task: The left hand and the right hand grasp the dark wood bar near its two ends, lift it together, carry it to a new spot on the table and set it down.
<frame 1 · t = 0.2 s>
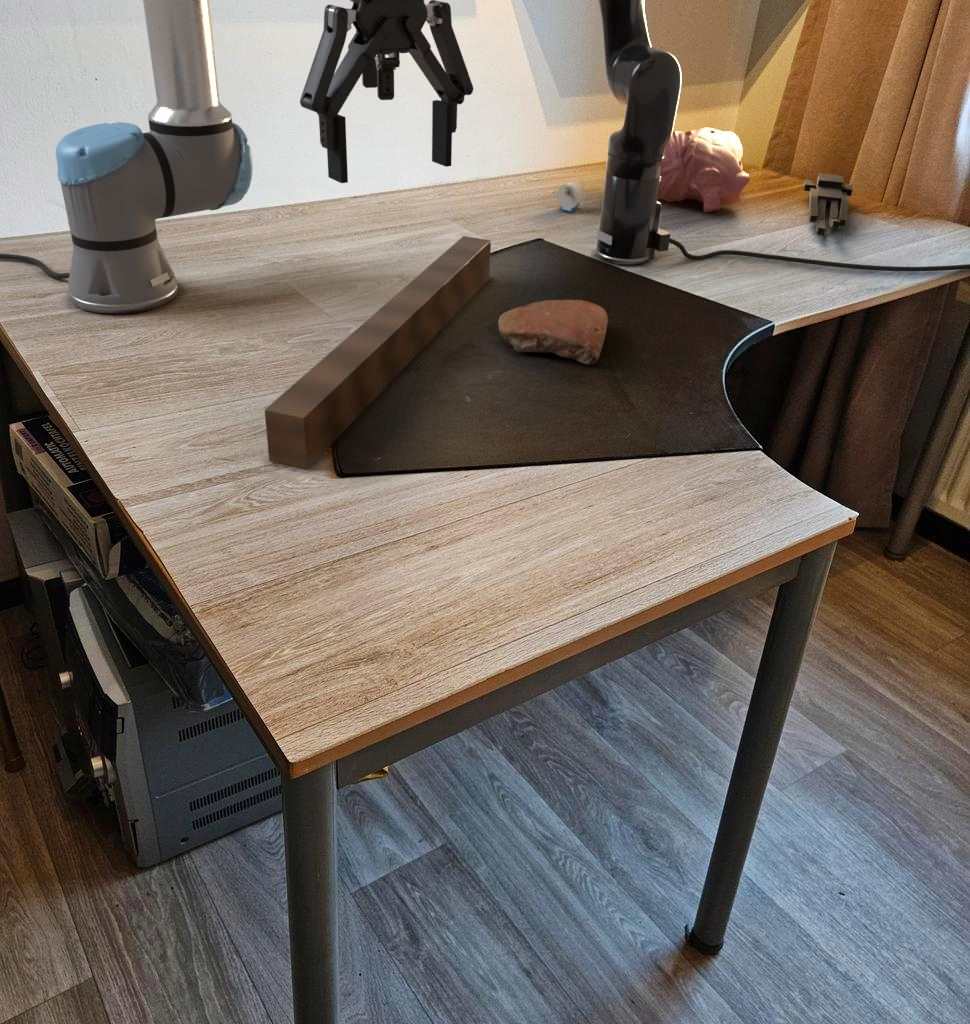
left hand: (391, 171, 106), 27 cm above the table, tool pointing down, fingers open, 13 cm apart
right hand: (378, 93, 136), 28 cm above the table, tool pointing down, fingers open, 8 cm apart
bar: (399, 352, 131), on the table
ceramic shard: (551, 340, 137), on the table
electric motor: (567, 211, 188), on the table
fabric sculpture: (687, 190, 204), on the table
toy: (825, 218, 192), on the table
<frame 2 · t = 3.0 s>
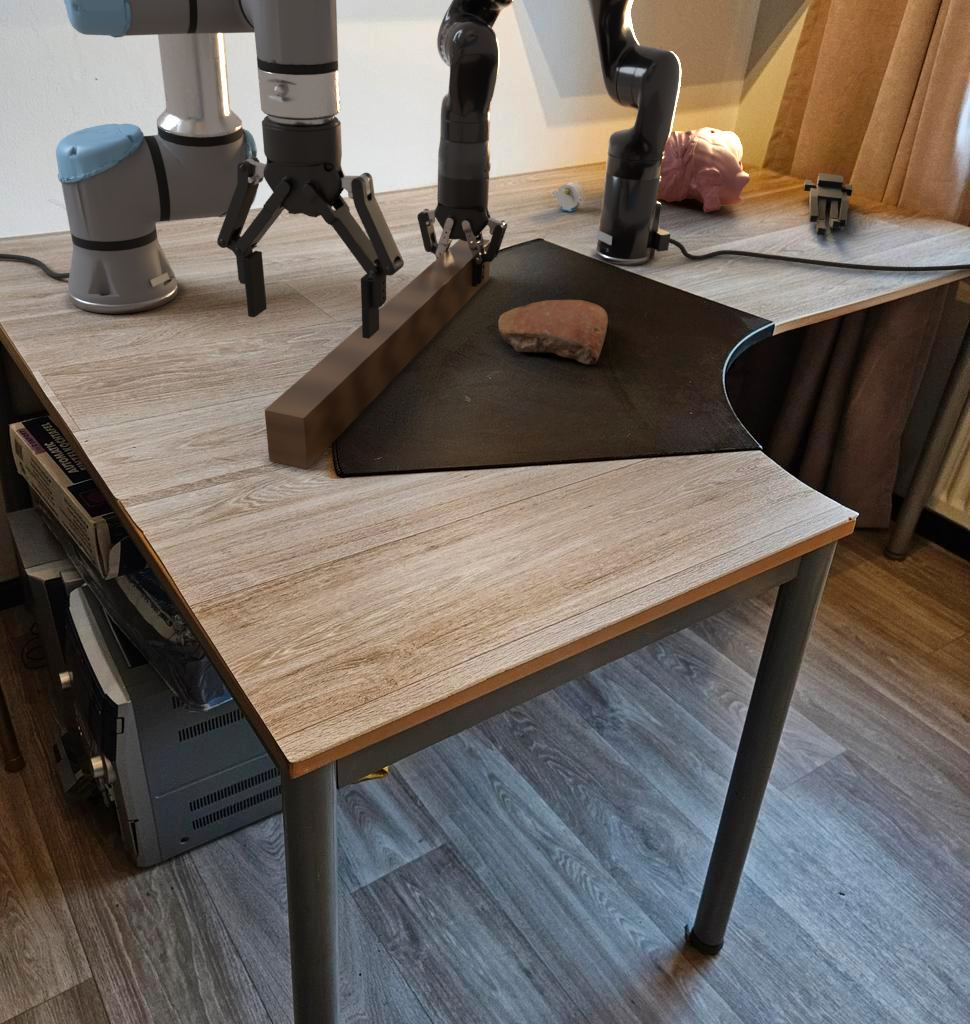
left hand: (313, 323, 104), 14 cm above the table, tool pointing down, fingers open, 13 cm apart
right hand: (460, 282, 149), 2 cm above the table, tool pointing down, fingers closed on bar, 4 cm apart
bar: (399, 352, 131), on the table, touching right hand
everything else where it was.
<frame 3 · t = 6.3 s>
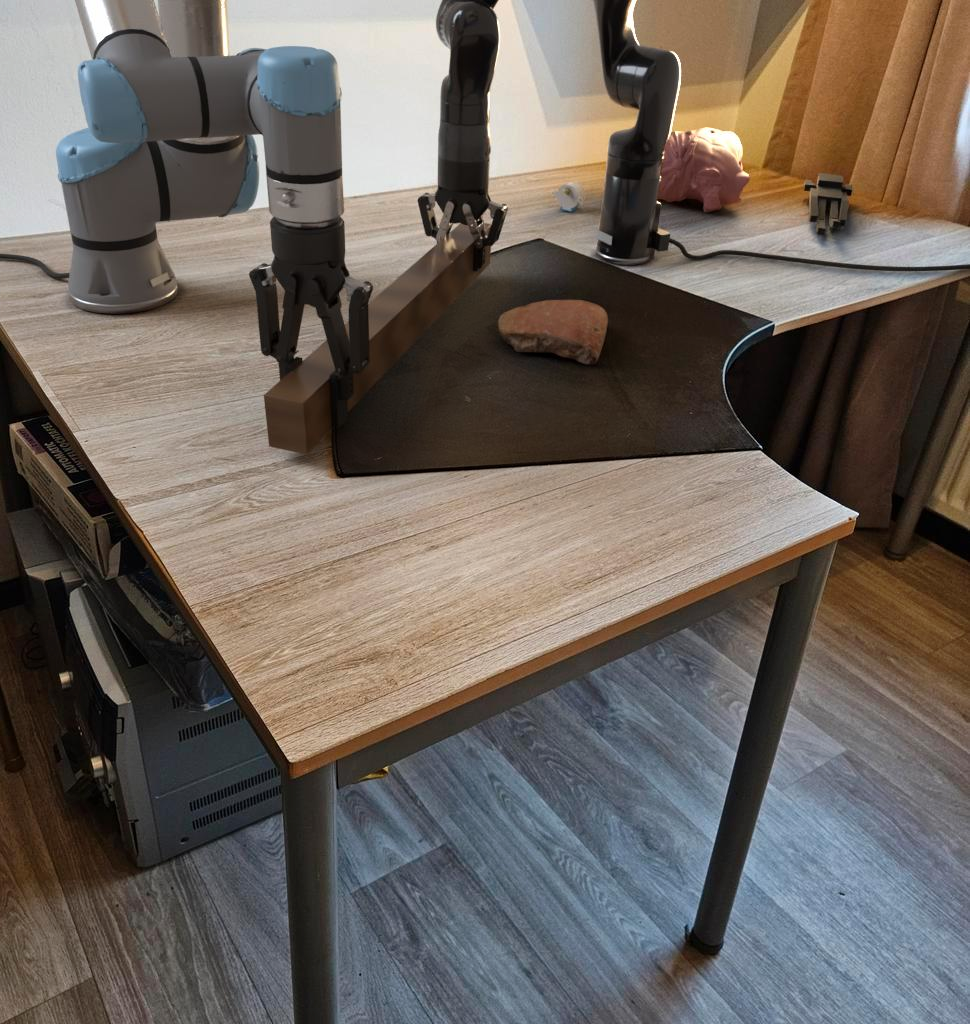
left hand: (318, 417, 111), 2 cm above the table, tool pointing down, fingers closed on bar, 5 cm apart
right hand: (461, 266, 148), 4 cm above the table, tool pointing down, fingers closed on bar, 4 cm apart
bar: (400, 337, 130), point 2 cm above the table, touching right hand, left hand
everything else where it was.
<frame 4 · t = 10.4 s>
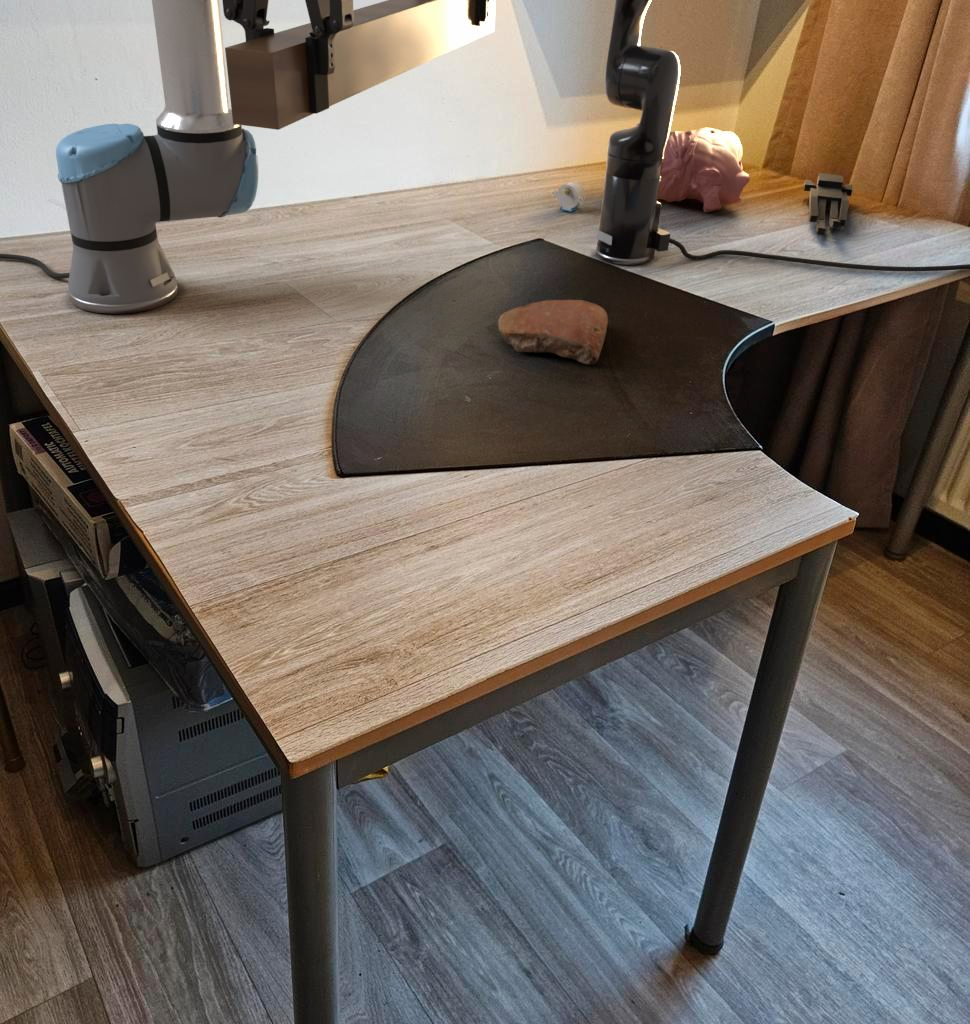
left hand: (293, 106, 93), 36 cm above the table, tool pointing down, fingers closed on bar, 5 cm apart
right hand: (461, 22, 130), 38 cm above the table, tool pointing down, fingers closed on bar, 4 cm apart
bar: (392, 67, 113), point 36 cm above the table, touching right hand, left hand
everything else where it was.
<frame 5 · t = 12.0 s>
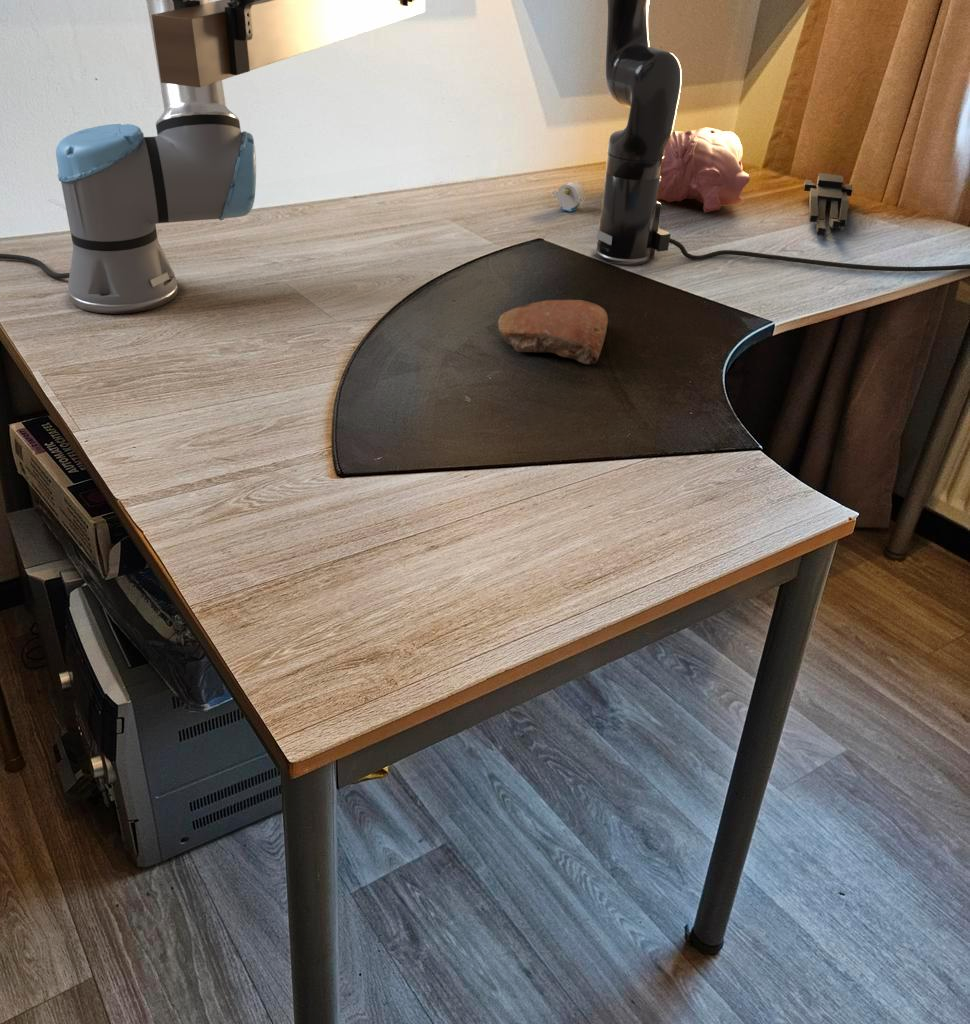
left hand: (218, 69, 106), 36 cm above the table, tool pointing down, fingers closed on bar, 5 cm apart
right hand: (391, 3, 143), 38 cm above the table, tool pointing down, fingers closed on bar, 4 cm apart
bar: (318, 40, 125), point 36 cm above the table, touching right hand, left hand
everything else where it was.
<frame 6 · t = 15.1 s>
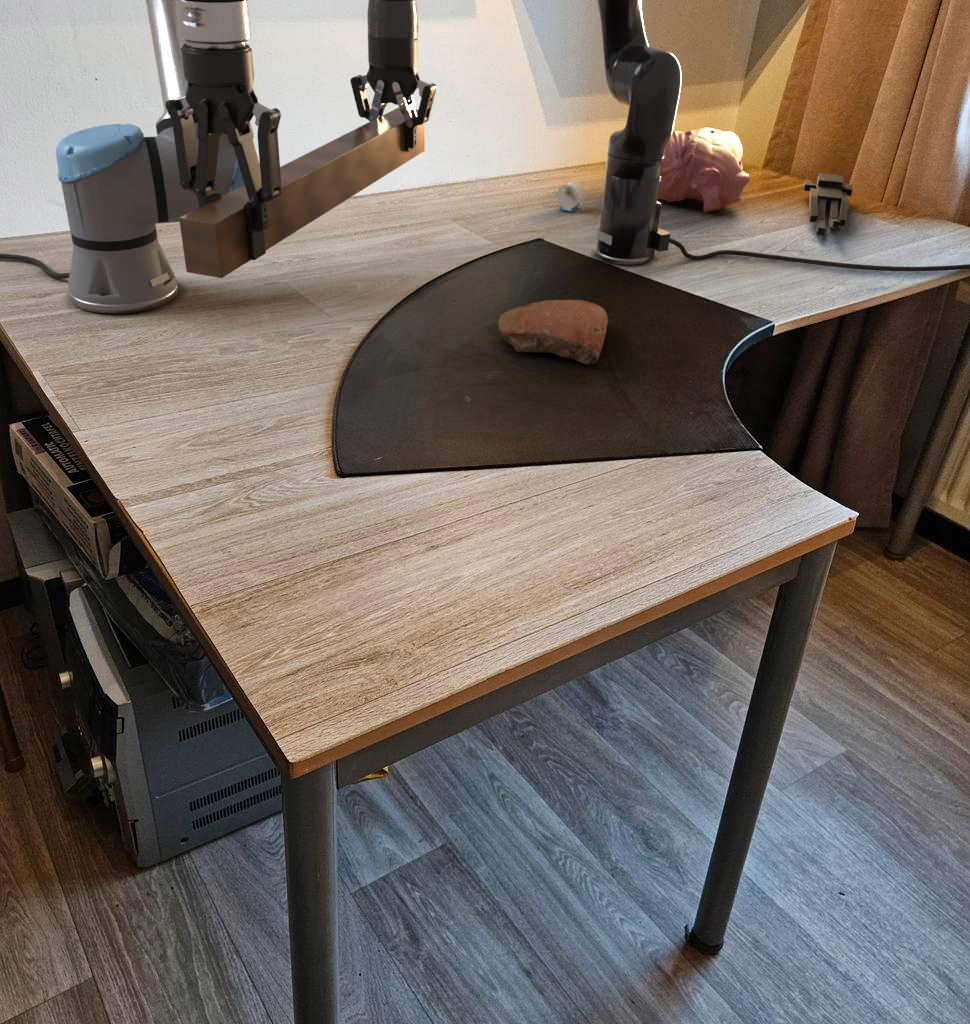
left hand: (237, 252, 117), 15 cm above the table, tool pointing down, fingers closed on bar, 5 cm apart
right hand: (393, 148, 155), 17 cm above the table, tool pointing down, fingers closed on bar, 4 cm apart
bar: (326, 200, 137), point 15 cm above the table, touching right hand, left hand
everything else where it was.
when the left hand's fingers open (1 cm above the table, at t = 17.8 s): bar drops 1 cm, on the table.
when the right hand's fingers open (3 cm above the table, at t = 17.9 s): bar stays where it is, on the table.
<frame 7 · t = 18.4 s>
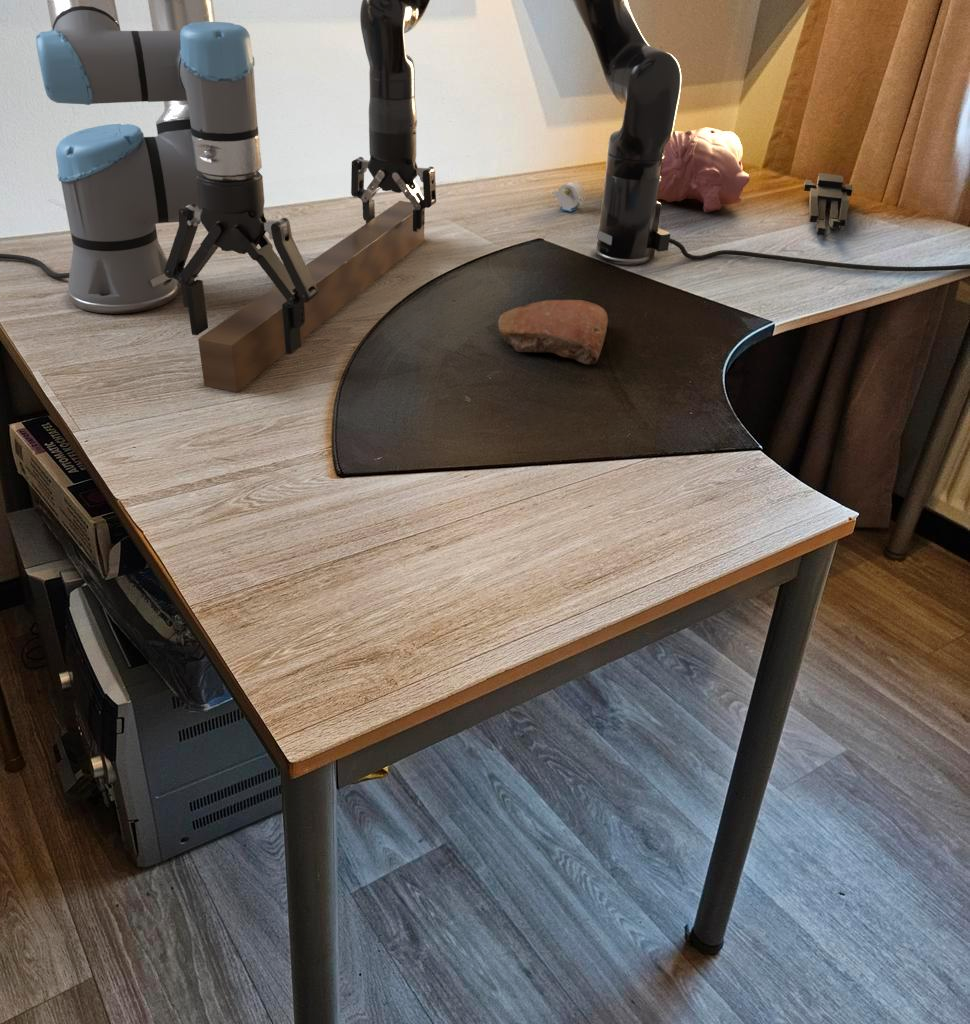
left hand: (246, 340, 124), 3 cm above the table, tool pointing down, fingers open, 13 cm apart
right hand: (393, 227, 162), 4 cm above the table, tool pointing down, fingers open, 8 cm apart
bar: (332, 300, 145), on the table
everything else where it was.
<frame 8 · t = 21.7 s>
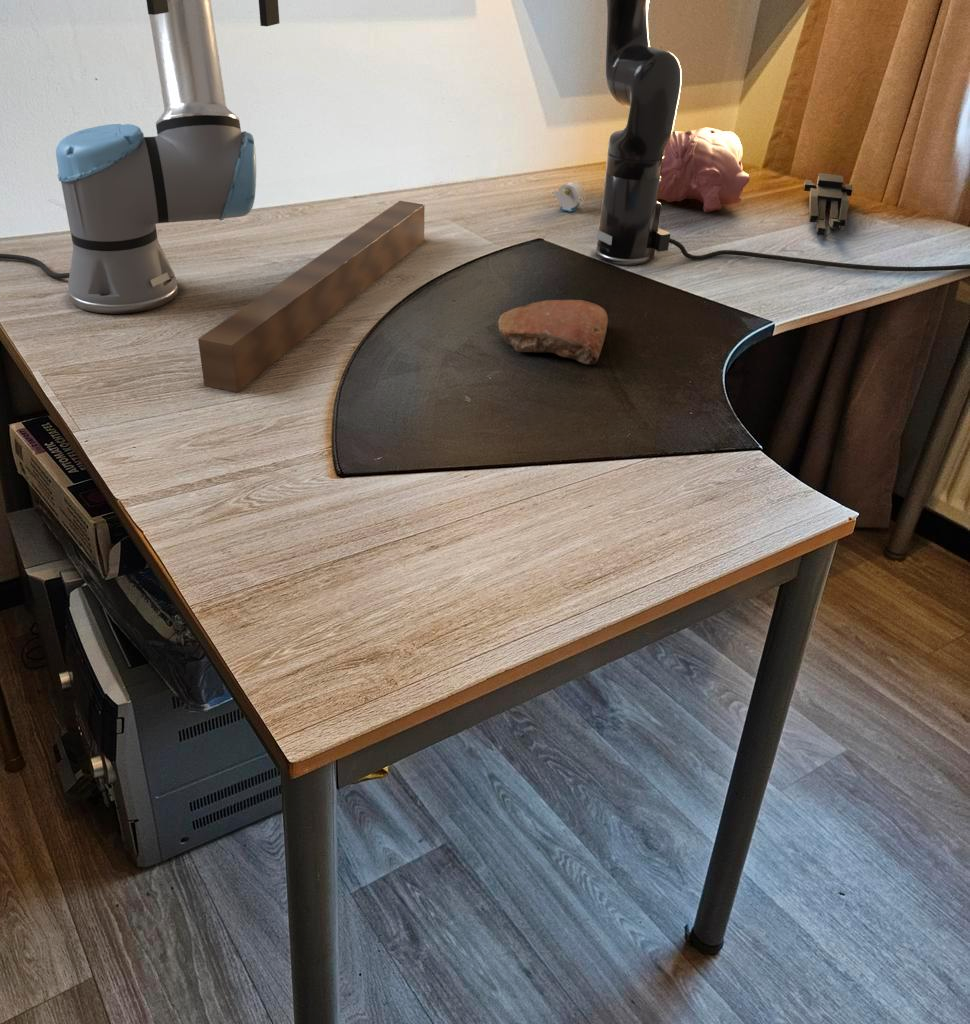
left hand: (213, 19, 103), 41 cm above the table, tool pointing down, fingers open, 13 cm apart
nothing on the table moved.
at the end: bar inside the target area (0.3 cm from its centre), on the table; bar tilted 0°; bar never tilted more than 2° during the clip; both hands held the bar at the same time; the left hand is holding nothing; the right hand is holding nothing; bar at rest at the end (0.0 cm/s) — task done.
